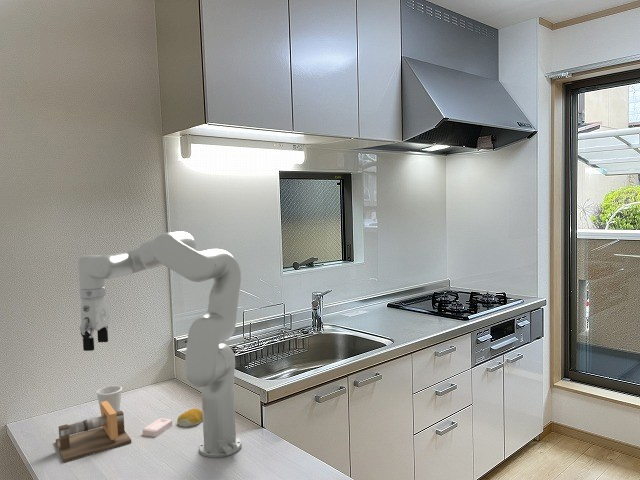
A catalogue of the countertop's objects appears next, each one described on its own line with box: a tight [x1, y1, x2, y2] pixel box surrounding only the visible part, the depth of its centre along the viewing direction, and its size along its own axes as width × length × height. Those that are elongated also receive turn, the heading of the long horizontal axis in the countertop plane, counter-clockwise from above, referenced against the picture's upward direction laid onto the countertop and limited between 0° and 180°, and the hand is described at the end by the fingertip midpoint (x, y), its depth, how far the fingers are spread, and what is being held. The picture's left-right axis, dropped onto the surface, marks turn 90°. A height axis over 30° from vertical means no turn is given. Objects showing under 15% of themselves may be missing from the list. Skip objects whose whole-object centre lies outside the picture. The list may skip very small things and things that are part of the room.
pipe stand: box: [55, 409, 132, 463], centre depth 156 cm, size 16×19×8 cm
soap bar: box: [142, 418, 173, 438], centre depth 163 cm, size 5×9×2 cm, turn 161°
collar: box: [100, 401, 118, 440], centre depth 158 cm, size 13×2×8 cm, turn 35°
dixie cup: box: [95, 385, 123, 412], centre depth 175 cm, size 8×8×10 cm
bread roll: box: [176, 408, 203, 428], centre depth 169 cm, size 8×9×4 cm
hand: (96, 346), depth 160 cm, fingers open, 9 cm apart
